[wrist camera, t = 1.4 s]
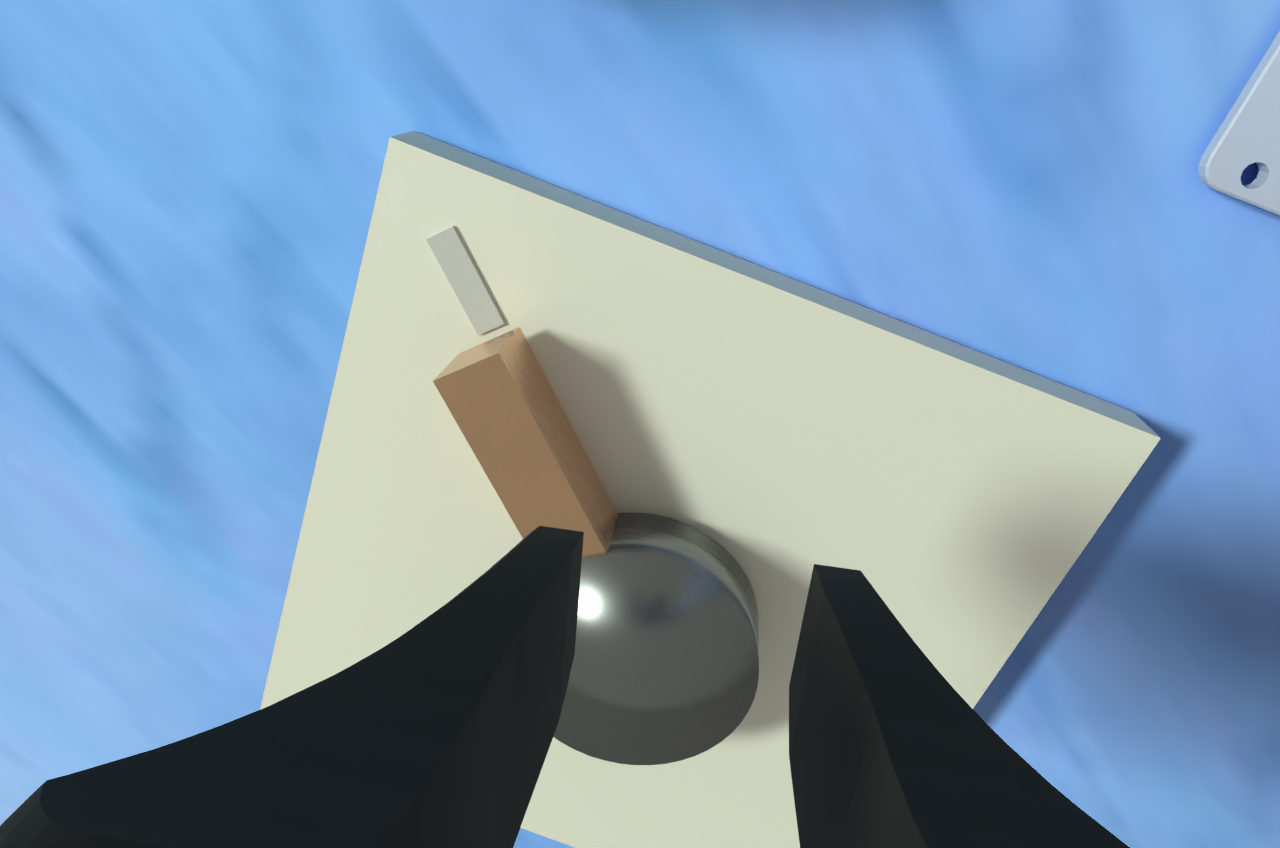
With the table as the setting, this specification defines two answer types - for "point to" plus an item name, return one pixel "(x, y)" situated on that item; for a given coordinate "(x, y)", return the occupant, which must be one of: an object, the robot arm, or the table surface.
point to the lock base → (682, 464)
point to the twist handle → (614, 575)
